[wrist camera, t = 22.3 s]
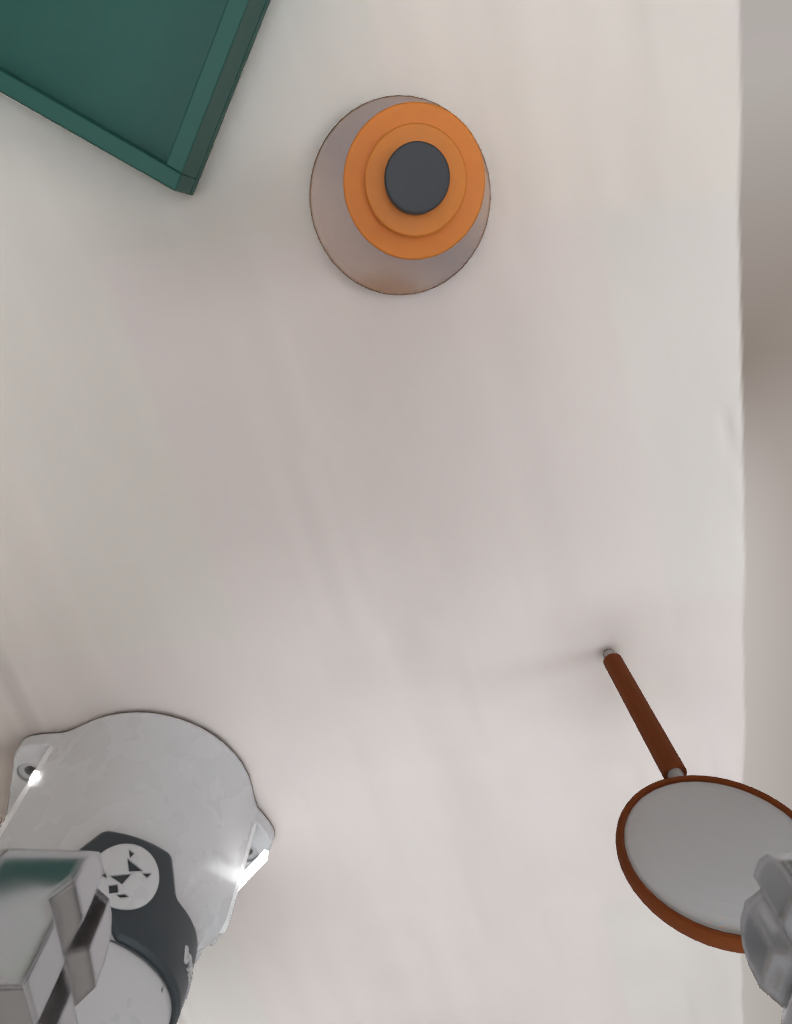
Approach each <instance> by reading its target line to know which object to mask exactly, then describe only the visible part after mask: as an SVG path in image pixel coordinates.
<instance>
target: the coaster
mask: <svg viewBox="0 0 792 1024" xmlns="http://www.w3.org/2000/svg"><path fill="white" fill-rule="evenodd" d="M404 102H425V103H430V104H434V105H437V106H439V107H442V106H440V105H438V104H436V103H434V102H431V101H429V100H426V99H423V98H418V97H414V96H403V95H396V96H386V97H382V98H378V99H374V100H372V101H369V102H367V103H364V104H362V105H361V106H359V107H357V108H356V109H354V110H352V111H351V112H350V113H348V114H347V115H346V116H345V117H343V118H342V119H341V120H340V121H339V122H338V123H337V124H336V126H335V127H334V128H333V129H332V130H331V132H330V133H329V134H328V136H327V137H326V139H325V140H324V142H323V144H322V146H321V148H320V150H319V152H318V155H317V158H316V160H315V163H314V167H313V171H312V175H311V183H310V208H311V216H312V220H313V224H314V228H315V230H316V233H317V236H318V238H319V241H320V243H321V244H322V246H323V248H324V250H325V252H326V253H327V255H328V256H329V258H330V259H331V260H332V262H333V263H334V264H335V265H336V266H337V267H338V268H339V269H340V270H341V271H342V272H343V273H344V274H345V275H346V276H348V277H349V278H350V279H352V280H353V281H355V282H356V283H358V284H360V285H362V286H364V287H366V288H368V289H370V290H373V291H376V292H379V293H385V294H390V295H408V294H416V293H420V292H424V291H427V290H429V289H432V288H435V287H437V286H438V285H440V284H442V283H444V282H446V281H447V280H448V279H450V278H451V277H452V276H454V275H455V274H456V273H457V272H458V271H459V270H460V269H461V268H462V267H463V266H464V265H465V264H466V263H467V262H468V260H469V259H470V258H471V256H472V255H473V253H474V252H475V250H476V249H477V247H478V245H479V243H480V241H481V238H482V236H483V234H484V231H485V228H486V225H487V221H488V216H489V211H490V199H491V195H490V180H489V174H488V169H487V166H486V162H485V159H484V157H483V154H482V152H481V155H482V158H483V162H484V168H485V193H484V198H483V202H482V206H481V209H480V212H479V214H478V216H477V218H476V220H475V222H474V224H473V225H472V227H471V229H470V230H469V231H468V232H467V234H466V235H465V236H464V237H463V238H462V239H461V240H460V241H459V242H458V243H457V244H456V245H454V246H453V247H452V248H450V249H449V250H447V251H445V252H443V253H442V254H439V255H437V256H434V257H431V258H426V259H419V260H407V259H401V258H396V257H393V256H390V255H388V254H386V253H384V252H382V251H380V250H379V249H377V248H376V247H374V246H373V245H372V244H371V243H369V242H368V241H367V240H366V239H365V238H364V237H363V235H362V234H361V233H360V232H359V230H358V229H357V227H356V226H355V224H354V222H353V220H352V218H351V216H350V214H349V211H348V209H347V206H346V201H345V197H344V189H343V173H344V166H345V161H346V157H347V154H348V151H349V149H350V146H351V144H352V142H353V140H354V138H355V137H356V135H357V134H358V132H359V131H360V129H361V128H362V127H363V126H364V125H365V124H366V123H367V122H368V121H369V120H370V119H371V118H372V117H373V116H375V115H376V114H377V113H379V112H380V111H382V110H384V109H386V108H388V107H390V106H393V105H396V104H400V103H404ZM442 108H443V107H442ZM444 109H445V108H444ZM446 110H447V109H446ZM447 111H448V110H447ZM478 146H479V145H478ZM479 149H480V147H479ZM480 151H481V149H480Z"/></svg>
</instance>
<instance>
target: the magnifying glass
mask: <svg viewBox="0 0 792 1024" xmlns="http://www.w3.org/2000/svg"><path fill="white" fill-rule="evenodd" d="M603 656H604V661H603V663H604V665H605V667H606V669H607V671H608V673H609V675H610V677H611V679H612V681H613V683H614V684H615V686H616V688H617V690H618V692H619V694H620V696H621V698H622V700H623V702H624V703H625V705H626V707H627V709H628V711H629V713H630V715H631V717H632V719H633V721H634V722H635V724H636V726H637V728H638V730H639V732H640V734H641V736H642V738H643V740H644V741H645V743H646V745H647V747H648V749H649V751H650V753H651V755H652V757H653V759H654V760H655V762H656V764H657V766H658V768H659V770H660V772H661V774H662V776H663V778H664V779H663V780H660V781H657V782H655V783H652V784H650V785H648V786H647V787H645V788H643V789H641V790H640V791H639V792H638V793H636V794H635V795H634V796H633V797H632V798H631V799H630V801H629V802H628V803H627V804H626V806H625V807H624V809H623V811H622V812H621V815H620V817H619V820H618V824H617V830H616V849H617V855H618V859H619V862H620V866H621V869H622V871H623V873H624V875H625V877H626V879H627V881H628V883H629V884H630V886H631V887H632V889H633V891H634V892H635V893H636V894H637V896H638V897H639V898H640V899H641V901H642V902H643V903H644V904H645V905H646V906H647V907H648V908H649V909H650V910H651V911H652V912H653V913H654V914H655V915H656V916H658V917H659V918H660V919H661V920H663V921H664V922H665V923H666V924H668V925H669V926H671V927H673V928H674V929H676V930H677V931H679V932H680V933H682V934H684V935H686V936H688V937H690V938H692V939H694V940H696V941H699V942H701V943H703V944H706V945H708V946H712V947H715V948H718V949H722V950H726V951H731V952H736V953H744V954H745V952H744V949H743V946H742V938H741V928H740V918H741V914H742V911H743V907H744V903H745V901H746V900H747V899H748V898H750V897H751V896H752V895H753V894H754V893H756V892H757V891H758V890H759V889H761V888H760V887H759V885H758V883H757V882H756V880H755V878H754V876H753V874H754V871H755V868H756V865H757V862H758V860H759V859H760V858H762V857H763V856H764V855H765V854H788V853H792V811H791V810H790V809H789V808H788V807H786V806H785V805H783V804H782V803H780V802H779V801H777V800H776V799H774V798H772V797H770V796H769V795H767V794H765V793H763V792H761V791H758V790H757V789H754V788H752V787H749V786H746V785H744V784H741V783H738V782H735V781H731V780H728V779H723V778H718V777H710V776H697V775H689V776H686V774H687V770H686V768H685V766H684V765H683V763H682V761H681V759H680V758H679V756H678V754H677V753H676V751H675V749H674V747H673V746H672V744H671V742H670V740H669V739H668V737H667V735H666V733H665V732H664V730H663V728H662V727H661V725H660V723H659V721H658V720H657V718H656V716H655V714H654V713H653V711H652V709H651V708H650V706H649V704H648V702H647V701H646V699H645V697H644V695H643V694H642V692H641V690H640V689H639V687H638V685H637V683H636V682H635V680H634V678H633V676H632V675H631V673H630V671H629V669H628V668H627V666H626V664H625V663H624V661H623V659H622V657H621V656H620V655H619V654H617V653H615V652H614V651H613V650H611V649H609V650H606V651H605V652H604V654H603Z"/></svg>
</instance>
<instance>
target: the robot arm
mask: <svg viewBox="0 0 792 1024" xmlns="http://www.w3.org/2000/svg"><path fill="white" fill-rule="evenodd" d="M32 766H33V767H32ZM34 767H35V768H34ZM274 836H275V833H274V829H273V827H272V825H271V824H270V823H269V821H268V820H267V818H266V817H265V816H264V815H263V814H262V812H261V811H260V810H259V809H258V807H257V805H256V803H255V799H254V795H253V790H252V785H251V782H250V779H249V776H248V774H247V772H246V770H245V768H244V766H243V765H242V763H241V762H240V760H239V759H238V757H237V756H236V755H235V754H234V753H233V752H232V750H231V749H230V748H229V747H228V746H226V745H225V744H224V743H223V742H222V741H221V740H219V739H218V738H217V737H215V736H214V735H212V734H211V733H209V732H207V731H206V730H204V729H202V728H200V727H198V726H196V725H194V724H192V723H189V722H187V721H184V720H181V719H178V718H175V717H171V716H166V715H161V714H155V713H144V712H131V713H120V714H114V715H109V716H105V717H101V718H98V719H95V720H93V721H90V722H88V723H86V724H84V725H82V726H80V727H78V728H75V729H73V730H70V731H67V732H64V733H50V734H40V735H34V736H30V737H27V738H25V739H24V740H23V741H22V742H21V744H20V746H19V747H18V749H17V751H16V753H15V756H14V763H13V770H12V778H11V785H10V793H9V800H8V808H7V815H6V818H5V820H4V822H3V823H2V825H1V827H0V1024H176V1023H177V1021H178V1018H179V1016H180V1012H181V1009H182V1007H183V1004H184V1001H185V999H186V998H187V995H188V992H189V989H190V985H191V982H192V975H193V967H194V964H195V963H196V961H197V960H198V958H199V956H200V954H201V952H202V950H203V949H205V948H206V947H207V946H211V945H213V944H214V943H215V941H216V940H217V938H218V936H219V934H223V933H224V932H225V931H226V929H227V927H228V924H229V922H230V919H231V915H232V912H233V908H234V905H235V901H236V897H237V894H238V890H239V889H240V888H241V887H242V886H243V885H244V884H245V883H246V882H247V881H248V880H249V879H250V878H251V877H252V876H253V875H254V874H255V872H256V871H257V870H258V869H259V868H260V867H261V866H262V865H263V864H264V863H265V862H266V861H267V858H268V853H269V850H270V848H271V846H272V842H273V839H274ZM753 876H754V878H755V880H756V882H757V883H758V885H759V887H760V888H761V889H759V890H758V891H757V892H756V893H754V894H753V895H752V896H751V897H750V898H748V899H747V900H746V901H745V903H744V907H743V911H742V914H741V918H740V928H741V938H742V946H743V949H744V952H745V955H746V958H747V961H748V965H749V967H750V969H751V971H752V973H753V975H754V977H755V979H756V981H757V983H758V985H759V987H760V988H761V989H762V990H763V991H764V992H765V993H766V994H767V995H769V996H770V997H771V998H772V999H773V1000H774V1001H776V1002H777V1003H778V1004H779V1005H780V1006H781V1007H782V1008H783V1011H782V1019H781V1024H792V853H788V854H765V855H764V856H763V857H762V858H760V859H759V860H758V862H757V865H756V868H755V871H754V874H753Z"/></svg>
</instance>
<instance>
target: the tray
mask: <svg viewBox="0 0 792 1024" xmlns="http://www.w3.org/2000/svg"><path fill="white" fill-rule="evenodd" d="M269 2H270V0H0V92H2V93H4V94H5V95H7V96H9V97H11V98H12V99H14V100H16V101H18V102H19V103H21V104H23V105H25V106H26V107H28V108H30V109H32V110H33V111H35V112H37V113H39V114H41V115H42V116H44V117H46V118H48V119H49V120H51V121H53V122H55V123H56V124H58V125H60V126H62V127H63V128H65V129H67V130H69V131H70V132H72V133H74V134H76V135H77V136H79V137H81V138H83V139H85V140H86V141H88V142H90V143H92V144H93V145H95V146H97V147H99V148H100V149H102V150H104V151H106V152H107V153H109V154H111V155H113V156H114V157H116V158H118V159H120V160H122V161H123V162H125V163H127V164H129V165H130V166H132V167H134V168H136V169H137V170H139V171H141V172H143V173H144V174H146V175H148V176H150V177H151V178H153V179H155V180H157V181H158V182H160V183H162V184H164V185H166V186H167V187H169V188H171V189H173V190H175V191H179V192H182V193H186V194H190V195H193V194H194V191H195V189H196V186H197V184H198V181H199V178H200V176H201V173H202V171H203V168H204V166H205V163H206V161H207V158H208V156H209V153H210V151H211V148H212V146H213V143H214V141H215V138H216V136H217V133H218V131H219V128H220V126H221V123H222V121H223V118H224V116H225V113H226V111H227V108H228V105H229V103H230V100H231V98H232V95H233V93H234V90H235V88H236V85H237V83H238V80H239V78H240V75H241V73H242V70H243V68H244V65H245V63H246V60H247V58H248V55H249V53H250V50H251V48H252V45H253V43H254V40H255V38H256V35H257V32H258V30H259V27H260V25H261V22H262V20H263V17H264V15H265V12H266V10H267V7H268V5H269Z"/></svg>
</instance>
